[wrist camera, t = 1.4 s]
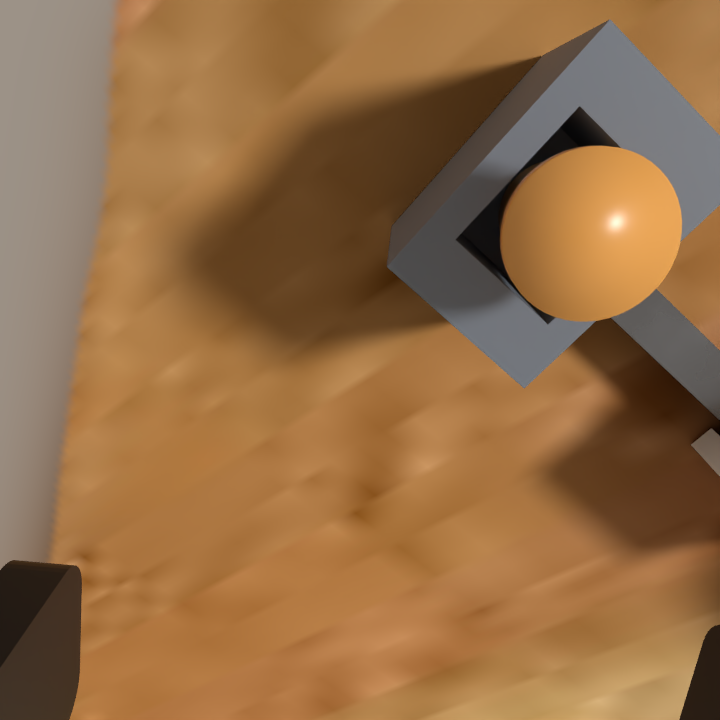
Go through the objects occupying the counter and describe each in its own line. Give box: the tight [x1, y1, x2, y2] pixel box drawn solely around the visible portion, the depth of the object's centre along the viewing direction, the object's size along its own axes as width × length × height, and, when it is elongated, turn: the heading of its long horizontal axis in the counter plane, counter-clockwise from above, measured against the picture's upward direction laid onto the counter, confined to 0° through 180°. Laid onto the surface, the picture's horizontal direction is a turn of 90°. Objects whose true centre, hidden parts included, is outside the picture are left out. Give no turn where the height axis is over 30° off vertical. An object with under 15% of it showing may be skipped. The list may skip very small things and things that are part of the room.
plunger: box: [498, 146, 682, 322], centre depth 19 cm, size 4×4×5 cm
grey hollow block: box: [387, 20, 720, 388], centre depth 24 cm, size 9×6×9 cm, turn 139°
